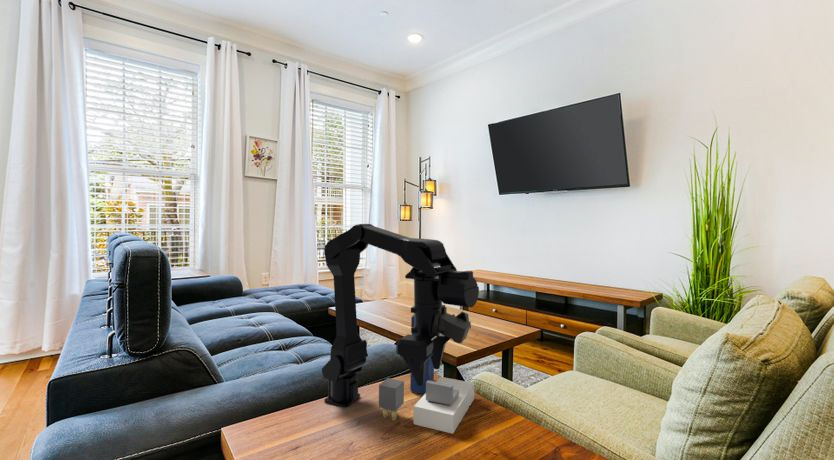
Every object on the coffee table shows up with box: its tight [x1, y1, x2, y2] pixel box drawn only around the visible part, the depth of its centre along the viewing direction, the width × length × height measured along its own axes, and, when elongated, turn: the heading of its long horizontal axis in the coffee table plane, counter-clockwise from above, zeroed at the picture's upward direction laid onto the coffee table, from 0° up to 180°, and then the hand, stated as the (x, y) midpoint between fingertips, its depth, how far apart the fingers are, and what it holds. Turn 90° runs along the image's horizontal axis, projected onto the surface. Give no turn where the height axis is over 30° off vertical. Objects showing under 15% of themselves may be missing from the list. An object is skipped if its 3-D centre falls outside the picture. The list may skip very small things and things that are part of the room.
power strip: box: [413, 376, 475, 434], centre depth 91 cm, size 9×17×4 cm, turn 157°
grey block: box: [426, 380, 459, 405], centre depth 89 cm, size 6×6×4 cm
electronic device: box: [409, 314, 435, 395], centre depth 104 cm, size 10×5×20 cm, turn 168°
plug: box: [378, 377, 405, 421], centre depth 88 cm, size 4×4×8 cm
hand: (429, 376), depth 80 cm, fingers open, 9 cm apart
